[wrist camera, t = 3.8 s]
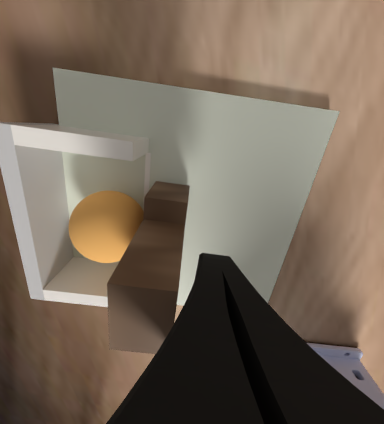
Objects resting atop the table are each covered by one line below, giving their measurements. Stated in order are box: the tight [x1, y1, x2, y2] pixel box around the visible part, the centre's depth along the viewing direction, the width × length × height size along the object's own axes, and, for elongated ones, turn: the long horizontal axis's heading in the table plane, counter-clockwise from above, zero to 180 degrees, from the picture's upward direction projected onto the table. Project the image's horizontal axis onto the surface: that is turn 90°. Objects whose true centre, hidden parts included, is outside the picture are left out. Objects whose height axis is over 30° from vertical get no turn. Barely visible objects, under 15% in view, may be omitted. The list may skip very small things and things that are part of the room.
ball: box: [69, 190, 144, 263], centre depth 11 cm, size 4×4×4 cm
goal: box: [0, 122, 149, 307], centre depth 12 cm, size 6×10×4 cm, turn 172°
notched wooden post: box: [107, 181, 190, 354], centre depth 10 cm, size 2×5×7 cm, turn 173°
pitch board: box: [53, 68, 340, 305], centre depth 14 cm, size 15×15×1 cm
